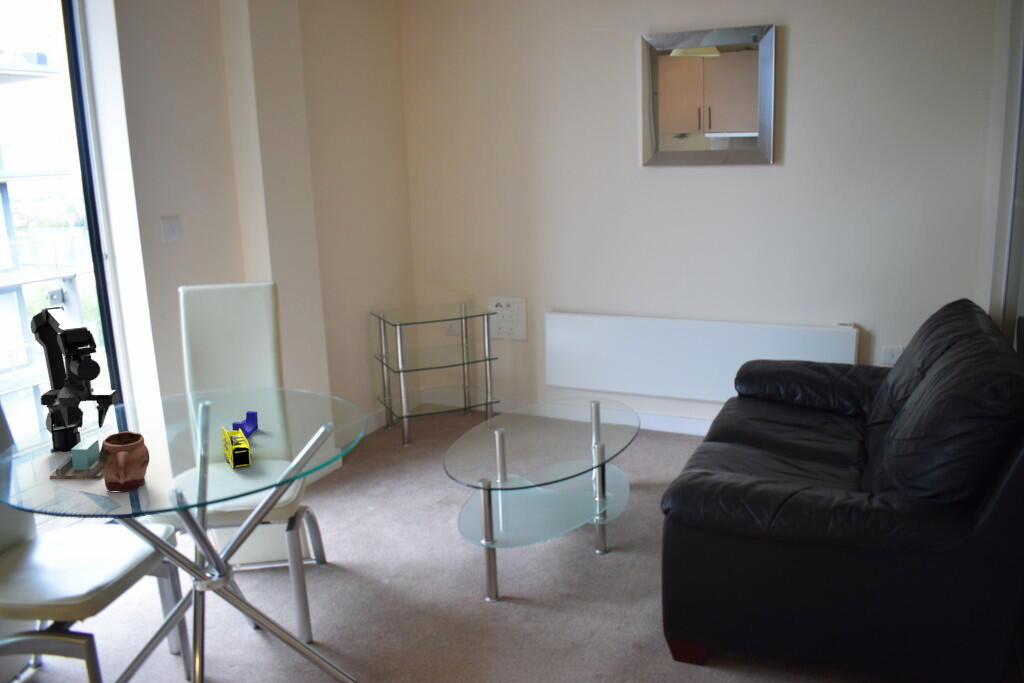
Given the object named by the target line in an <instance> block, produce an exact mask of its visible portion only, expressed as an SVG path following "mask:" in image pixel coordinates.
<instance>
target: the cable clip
mask: <svg viewBox="0 0 1024 683" xmlns="http://www.w3.org/2000/svg"><path fill="white" fill-rule="evenodd" d="M258 419H259V418H258V411H255V410H254V411H253V410H247V411H246V412H245V419H243V420H241V421H234V422H233V423H231V425H232V427H231V428H232V431H234V430H236V431H239V429H241V431H242V433H243V434H244V436H245V438H246V439H247V440H248V438H250V437H251V436H252V435H254V433H255V432H256V431H257V429H258V430H259V420H258Z"/></svg>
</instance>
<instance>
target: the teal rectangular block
mask: <svg viewBox="0 0 1024 683" xmlns="http://www.w3.org/2000/svg"><path fill="white" fill-rule="evenodd" d="M70 453H71V455H72V462H73V470H87V469H88V468H89V467H90V466H91V465H92V464H93V463H94V462H95V461H96V460H97V459H98V456H99V453H100V443H99V439H98V438H83V439H81V442H79V443H78V444H77V445H76V446H75V447H73V448H72V449H71V452H70Z"/></svg>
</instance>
